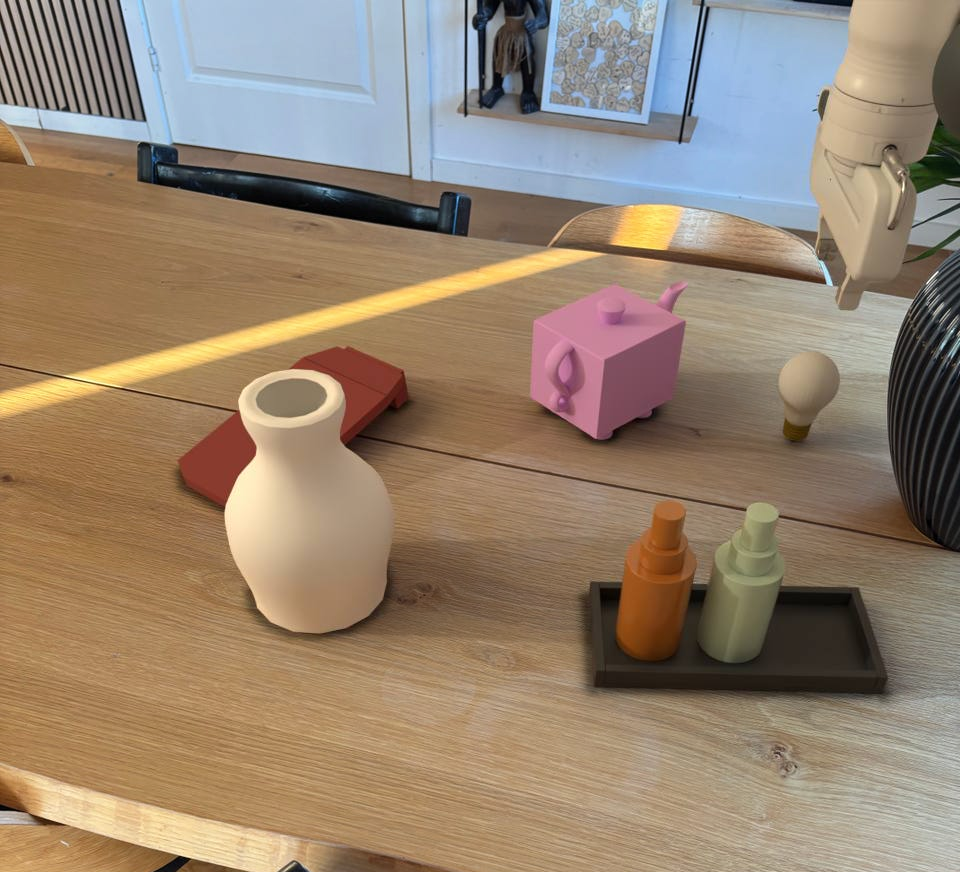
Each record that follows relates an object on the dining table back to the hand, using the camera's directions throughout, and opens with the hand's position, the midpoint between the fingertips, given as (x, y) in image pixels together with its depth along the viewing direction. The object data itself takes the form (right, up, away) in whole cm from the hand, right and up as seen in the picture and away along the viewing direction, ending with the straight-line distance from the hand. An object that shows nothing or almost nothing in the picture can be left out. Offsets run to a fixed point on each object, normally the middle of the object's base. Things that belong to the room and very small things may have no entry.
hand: (834, 281), depth 95 cm
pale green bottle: (-12, -33, -8) cm, 36 cm away
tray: (-12, -34, -8) cm, 37 cm away
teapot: (-19, -8, +17) cm, 27 cm away
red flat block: (-52, -13, +13) cm, 55 cm away
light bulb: (0, -12, +13) cm, 18 cm away
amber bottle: (-19, -33, -8) cm, 39 cm away
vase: (-48, -29, -3) cm, 56 cm away
